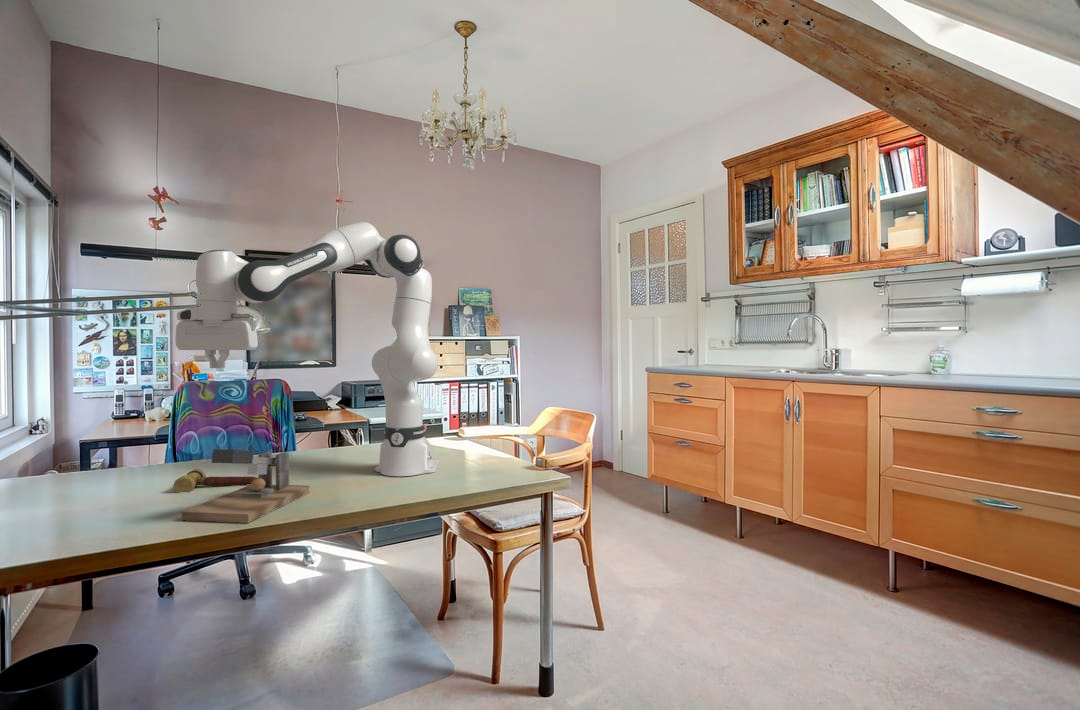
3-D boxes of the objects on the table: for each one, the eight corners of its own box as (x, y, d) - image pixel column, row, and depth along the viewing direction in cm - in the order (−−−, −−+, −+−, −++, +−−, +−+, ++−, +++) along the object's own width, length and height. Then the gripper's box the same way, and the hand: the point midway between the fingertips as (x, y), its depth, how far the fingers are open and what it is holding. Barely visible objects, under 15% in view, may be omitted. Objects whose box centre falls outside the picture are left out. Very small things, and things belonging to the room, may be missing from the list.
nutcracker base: (253, 491, 141) (252, 450, 141) (309, 493, 139) (308, 451, 139) (181, 520, 117) (181, 471, 117) (248, 523, 115) (247, 473, 115)
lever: (266, 473, 138) (269, 452, 139) (284, 474, 137) (286, 452, 138) (209, 474, 118) (213, 449, 119) (230, 475, 118) (233, 449, 119)
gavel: (269, 469, 154) (260, 477, 145) (268, 484, 154) (259, 493, 145) (188, 468, 149) (173, 477, 139) (187, 485, 149) (172, 494, 139)
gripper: (263, 314, 136) (263, 367, 136) (189, 315, 138) (190, 367, 138) (246, 312, 130) (247, 368, 130) (170, 313, 132) (171, 368, 132)
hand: (217, 368), depth 134 cm, fingers closed
